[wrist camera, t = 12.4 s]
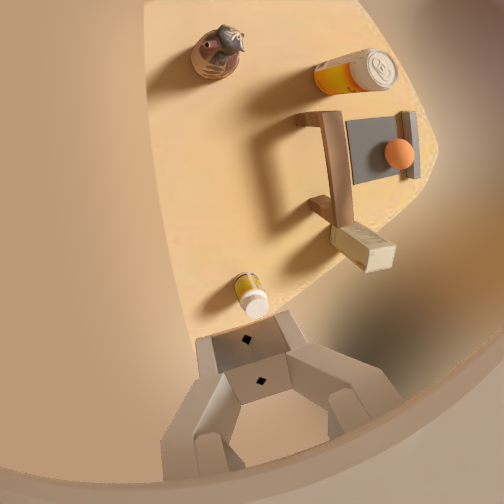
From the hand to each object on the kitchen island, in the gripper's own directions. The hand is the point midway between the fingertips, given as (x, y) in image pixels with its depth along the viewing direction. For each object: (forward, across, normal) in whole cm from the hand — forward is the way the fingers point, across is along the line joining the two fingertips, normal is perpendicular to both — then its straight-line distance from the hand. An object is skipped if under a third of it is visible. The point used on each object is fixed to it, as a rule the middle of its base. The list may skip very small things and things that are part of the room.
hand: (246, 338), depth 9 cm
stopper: (+37, -42, +4) cm, 56 cm away
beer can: (+37, -25, -10) cm, 46 cm away
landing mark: (+37, -33, +4) cm, 50 cm away
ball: (+34, -36, +5) cm, 50 cm away
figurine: (+37, -7, -16) cm, 41 cm away
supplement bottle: (+37, -3, +23) cm, 44 cm away
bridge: (+37, -19, +4) cm, 42 cm away
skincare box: (+37, -24, +19) cm, 48 cm away
